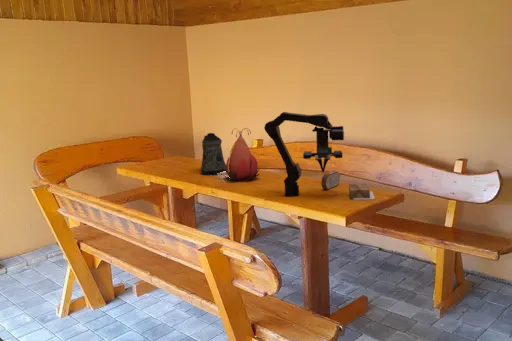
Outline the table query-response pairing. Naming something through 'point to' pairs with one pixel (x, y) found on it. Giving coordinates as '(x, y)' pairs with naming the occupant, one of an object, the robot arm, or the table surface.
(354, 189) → the walnut board
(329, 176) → the tin
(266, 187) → the table surface
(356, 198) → the mat
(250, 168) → the decorative flower
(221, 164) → the beer stein
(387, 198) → the table surface
